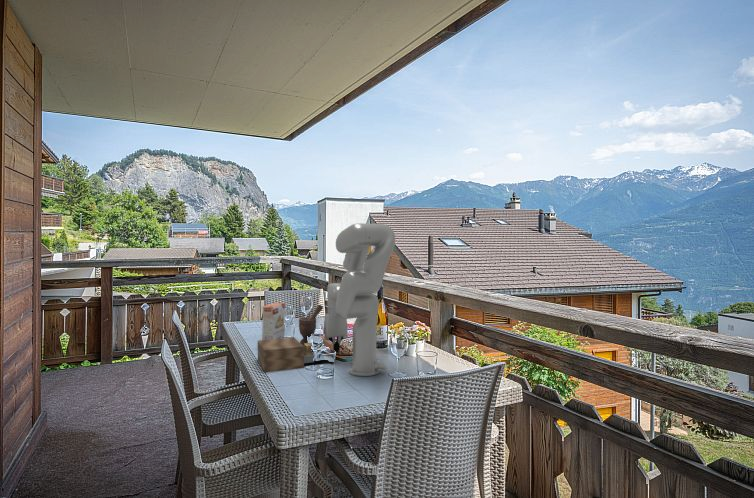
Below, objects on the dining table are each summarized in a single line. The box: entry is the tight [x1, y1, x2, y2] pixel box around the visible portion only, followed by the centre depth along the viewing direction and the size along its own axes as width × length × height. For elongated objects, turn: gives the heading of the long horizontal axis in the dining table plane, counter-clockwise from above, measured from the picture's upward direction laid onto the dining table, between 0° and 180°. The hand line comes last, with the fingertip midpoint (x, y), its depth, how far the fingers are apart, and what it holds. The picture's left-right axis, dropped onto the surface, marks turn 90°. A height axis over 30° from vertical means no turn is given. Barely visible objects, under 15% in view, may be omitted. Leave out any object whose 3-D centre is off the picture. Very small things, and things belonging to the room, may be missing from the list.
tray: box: [304, 334, 334, 364], centre depth 187 cm, size 16×18×8 cm
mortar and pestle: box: [298, 304, 324, 346], centre depth 217 cm, size 12×9×20 cm
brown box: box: [257, 336, 305, 373], centre depth 182 cm, size 16×18×9 cm
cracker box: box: [261, 302, 286, 340], centre depth 211 cm, size 14×6×21 cm, turn 168°
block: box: [304, 343, 313, 356], centre depth 188 cm, size 5×5×5 cm
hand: (335, 351), depth 192 cm, fingers closed
